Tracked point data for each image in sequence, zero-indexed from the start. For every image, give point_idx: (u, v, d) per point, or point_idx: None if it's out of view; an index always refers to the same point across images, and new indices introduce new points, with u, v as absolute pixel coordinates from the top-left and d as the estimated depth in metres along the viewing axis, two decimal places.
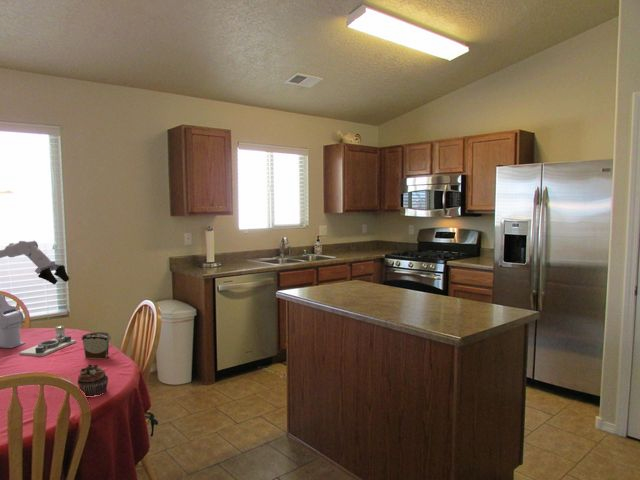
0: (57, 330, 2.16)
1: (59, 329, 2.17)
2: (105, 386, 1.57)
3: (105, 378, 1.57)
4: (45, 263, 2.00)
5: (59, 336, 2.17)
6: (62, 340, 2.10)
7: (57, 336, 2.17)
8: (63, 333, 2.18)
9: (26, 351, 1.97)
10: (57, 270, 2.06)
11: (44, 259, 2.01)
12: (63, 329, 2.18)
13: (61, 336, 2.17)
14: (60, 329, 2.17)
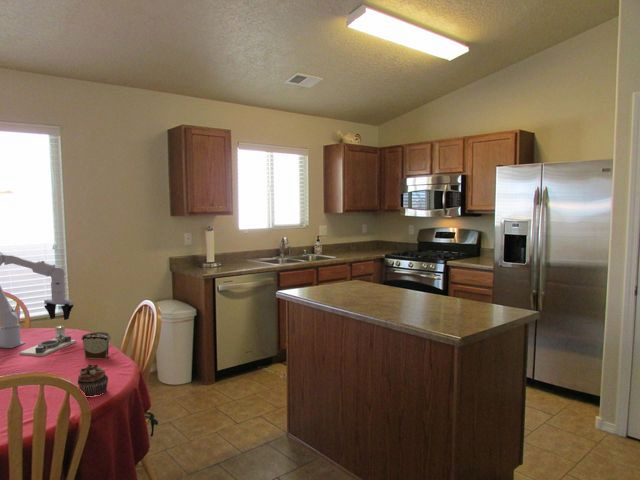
0: (57, 330, 2.16)
1: (59, 329, 2.17)
2: (105, 386, 1.57)
3: (105, 378, 1.57)
4: None
5: (59, 336, 2.17)
6: (62, 340, 2.10)
7: (57, 336, 2.17)
8: (63, 333, 2.18)
9: (26, 351, 1.97)
10: (52, 305, 2.18)
11: None
12: (63, 329, 2.18)
13: (61, 336, 2.17)
14: (60, 329, 2.17)
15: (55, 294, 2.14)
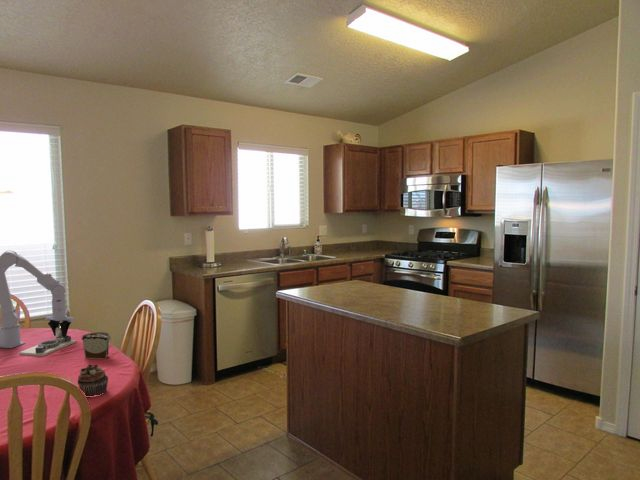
0: (57, 330, 2.16)
1: (59, 329, 2.17)
2: (105, 386, 1.57)
3: (105, 378, 1.57)
4: None
5: (59, 336, 2.17)
6: (62, 340, 2.10)
7: (57, 336, 2.17)
8: None
9: (26, 351, 1.97)
10: (55, 322, 2.18)
11: None
12: None
13: (61, 336, 2.17)
14: (60, 329, 2.17)
15: (56, 311, 2.15)
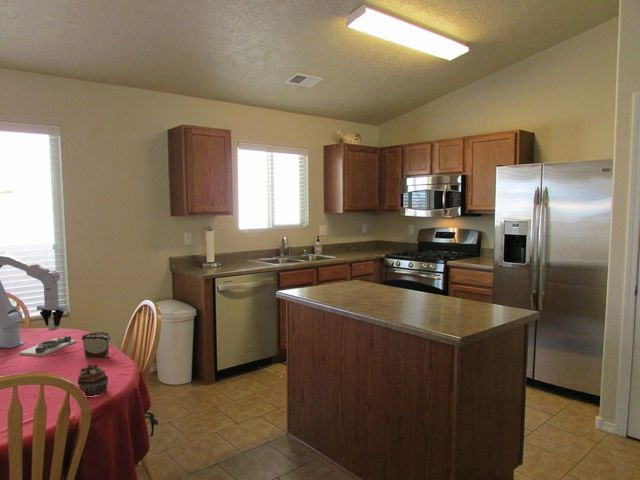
0: (50, 320, 2.08)
1: (52, 319, 2.08)
2: (105, 386, 1.57)
3: (105, 378, 1.57)
4: (58, 303, 2.11)
5: (52, 326, 2.08)
6: (62, 340, 2.10)
7: (50, 326, 2.08)
8: None
9: (26, 351, 1.97)
10: (47, 311, 2.10)
11: None
12: None
13: (54, 326, 2.09)
14: (53, 319, 2.08)
15: (48, 300, 2.06)
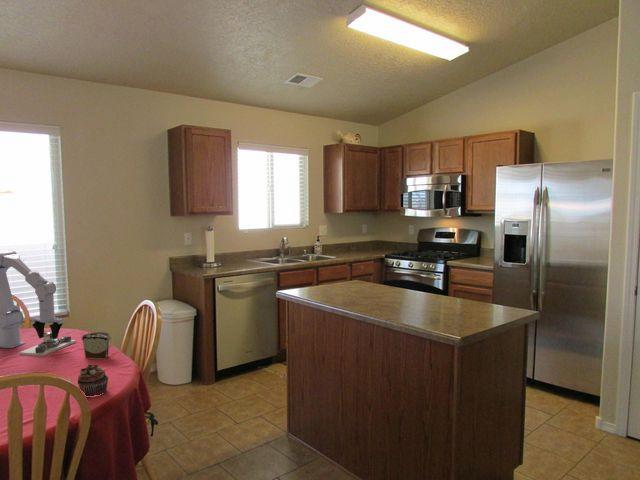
0: (46, 336, 2.03)
1: (48, 335, 2.03)
2: (105, 386, 1.57)
3: (105, 378, 1.57)
4: None
5: (48, 343, 2.03)
6: (62, 340, 2.10)
7: (46, 343, 2.03)
8: (52, 339, 2.05)
9: (26, 351, 1.97)
10: (40, 323, 2.05)
11: None
12: None
13: (50, 343, 2.04)
14: (49, 335, 2.03)
15: (43, 312, 2.01)
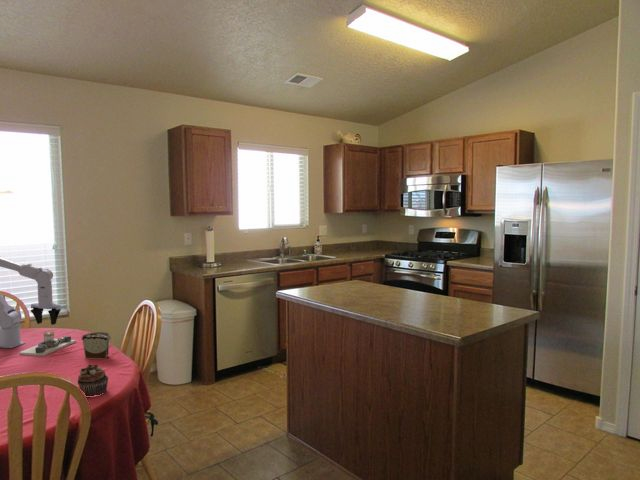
0: (46, 336, 2.03)
1: (48, 335, 2.03)
2: (105, 386, 1.57)
3: (105, 378, 1.57)
4: (52, 301, 2.12)
5: (48, 343, 2.03)
6: (62, 340, 2.10)
7: (46, 343, 2.03)
8: (52, 339, 2.05)
9: (26, 351, 1.97)
10: (39, 309, 2.11)
11: None
12: (52, 335, 2.05)
13: (50, 343, 2.04)
14: (49, 335, 2.03)
15: (42, 298, 2.07)
